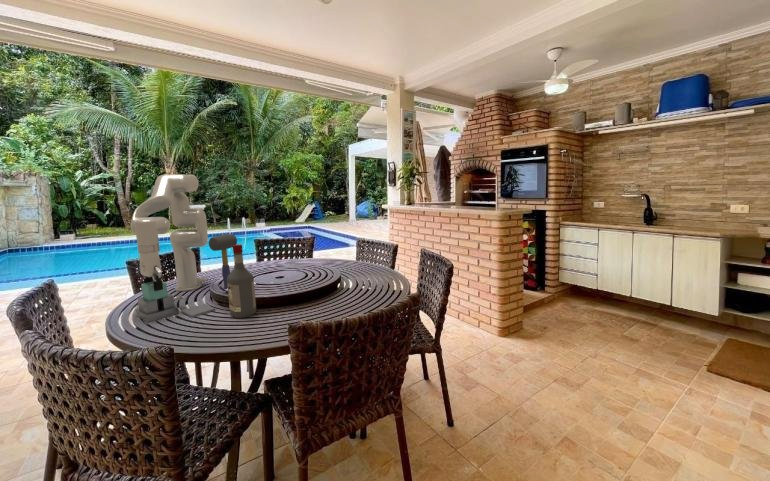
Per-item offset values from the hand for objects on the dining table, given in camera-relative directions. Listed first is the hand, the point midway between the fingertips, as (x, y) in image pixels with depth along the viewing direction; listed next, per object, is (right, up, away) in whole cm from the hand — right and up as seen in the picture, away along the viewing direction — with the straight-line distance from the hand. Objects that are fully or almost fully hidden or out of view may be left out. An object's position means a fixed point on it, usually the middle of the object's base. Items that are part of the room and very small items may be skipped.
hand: (153, 288), depth 150 cm
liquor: (+37, -11, +2) cm, 39 cm away
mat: (+16, -11, +5) cm, 20 cm away
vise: (+2, -11, +4) cm, 12 cm away
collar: (0, -4, +1) cm, 4 cm away
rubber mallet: (+17, -7, +31) cm, 37 cm away
